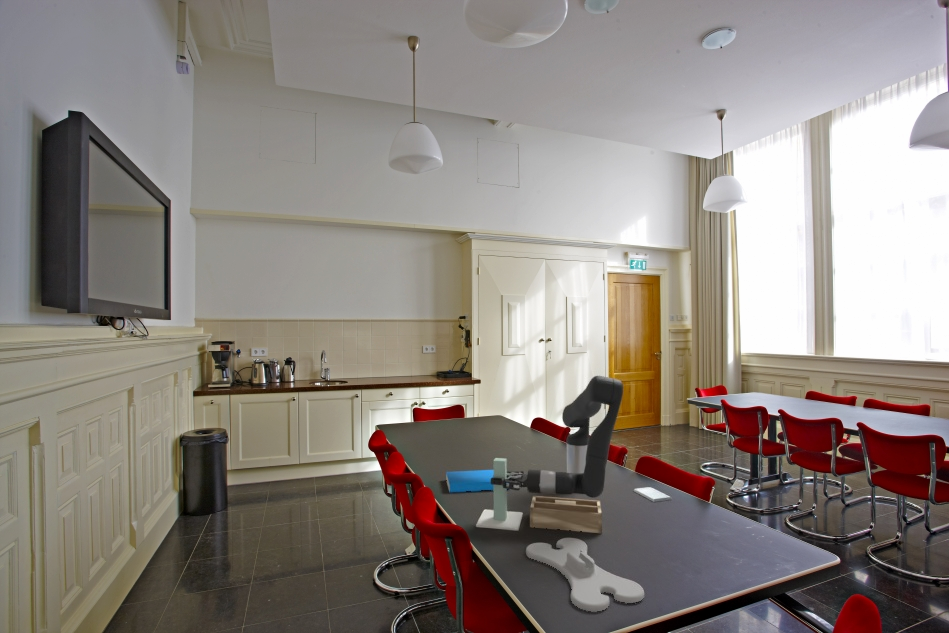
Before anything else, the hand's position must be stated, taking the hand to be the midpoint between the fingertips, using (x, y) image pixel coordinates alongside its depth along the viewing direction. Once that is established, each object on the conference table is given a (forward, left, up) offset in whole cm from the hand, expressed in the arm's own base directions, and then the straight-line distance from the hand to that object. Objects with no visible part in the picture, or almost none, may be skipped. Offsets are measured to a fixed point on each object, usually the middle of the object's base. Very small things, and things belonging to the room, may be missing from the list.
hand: (492, 478), depth 160 cm
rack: (-20, +15, -14) cm, 29 cm away
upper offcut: (-21, +13, -11) cm, 28 cm away
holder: (0, +41, -15) cm, 44 cm away
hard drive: (-67, +15, -15) cm, 70 cm away
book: (-16, -34, -15) cm, 40 cm away
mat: (-2, +2, -14) cm, 14 cm away
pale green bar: (-2, +2, -13) cm, 14 cm away
